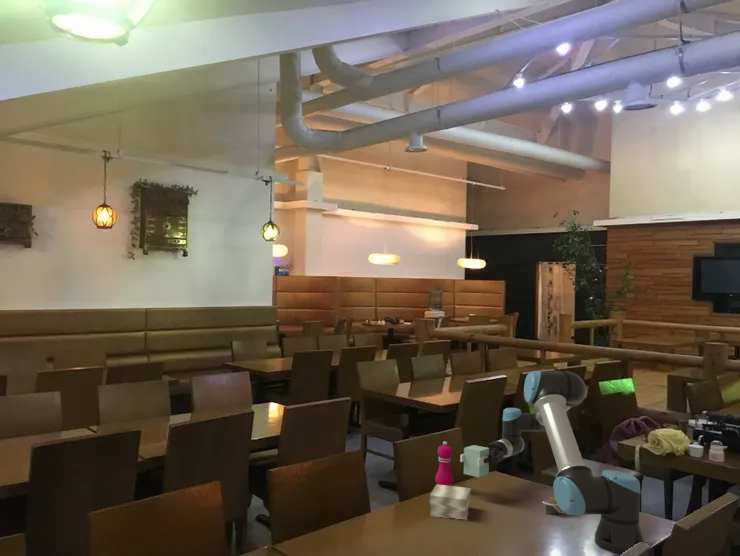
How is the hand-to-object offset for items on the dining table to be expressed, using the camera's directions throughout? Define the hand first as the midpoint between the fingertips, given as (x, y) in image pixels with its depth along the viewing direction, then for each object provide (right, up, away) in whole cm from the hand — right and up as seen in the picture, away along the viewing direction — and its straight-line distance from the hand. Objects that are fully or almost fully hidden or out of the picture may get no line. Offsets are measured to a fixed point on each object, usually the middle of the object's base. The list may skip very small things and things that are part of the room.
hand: (469, 460), depth 242 cm
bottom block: (-9, -16, -11) cm, 22 cm away
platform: (+30, -17, -10) cm, 36 cm away
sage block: (+3, -6, +4) cm, 8 cm away
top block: (-9, -12, -11) cm, 19 cm away
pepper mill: (-8, -16, +12) cm, 22 cm away
